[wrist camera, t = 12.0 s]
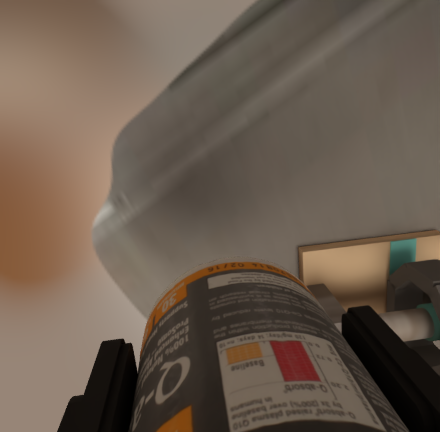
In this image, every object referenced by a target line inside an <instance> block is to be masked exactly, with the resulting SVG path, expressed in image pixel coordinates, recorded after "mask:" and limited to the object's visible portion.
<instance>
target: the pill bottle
mask: <svg viewBox="0 0 440 432" xmlns="http://www.w3.org/2000/svg"><path fill="white" fill-rule="evenodd" d="M128 432H409V430H408V429H407V427H406V426H405V424H404V423H403V422H402V420H401V419H400V417H399V416H398V414H397V413H396V412H395V410H394V409H393V407H392V406H391V404H390V403H389V401H388V400H387V398H386V397H385V396H384V394H383V393H382V391H381V390H380V388H379V387H378V385H377V384H376V383H375V381H374V380H373V378H372V377H371V375H370V374H369V373H368V371H367V370H366V368H365V367H364V366H363V364H362V363H361V361H360V360H359V358H358V357H357V355H356V354H355V353H354V351H353V350H352V348H351V347H350V346H349V344H348V343H347V342H346V340H345V339H344V337H343V336H342V334H341V333H340V331H339V330H338V329H337V327H336V326H335V325H334V323H333V322H332V320H331V319H330V317H329V316H328V314H327V313H326V311H325V310H324V308H323V307H322V306H321V305H320V303H319V302H318V300H317V299H316V298H315V296H314V295H313V294H312V293H311V292H310V290H309V289H308V288H307V287H306V286H305V285H304V283H303V282H302V281H301V280H300V279H298V278H297V277H296V276H295V275H293V274H292V273H291V272H289V271H288V270H286V269H284V268H283V267H281V266H279V265H277V264H275V263H272V262H269V261H265V260H260V259H256V258H249V257H231V258H223V259H219V260H215V261H212V262H209V263H206V264H200V265H198V266H196V267H194V268H193V269H191V270H189V271H187V272H186V273H184V274H183V275H182V276H180V277H179V278H178V279H176V280H175V281H174V282H173V283H172V284H171V285H170V286H169V287H168V288H167V289H166V290H165V291H164V292H163V293H162V294H161V296H160V297H159V298H158V300H157V301H156V303H155V305H154V306H153V309H152V311H151V313H150V315H149V318H148V321H147V324H146V328H145V333H144V337H143V342H142V348H141V352H140V362H139V368H138V376H137V381H136V388H135V395H134V400H133V406H132V413H131V420H130V426H129V431H128Z"/></svg>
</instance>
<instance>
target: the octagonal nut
mask: <svg viewBox="0 0 440 432" xmlns="http://www.w3.org/2000/svg"><path fill="white" fill-rule="evenodd" d="M388 278H389V280H387V308H386V312H394V311H401V310H408V309H416V307H417V306H418V305H420V304H423V291H424V292H425V293H426V294H428V295H429V297H430V299H431V302H432V304H433V307H434V309H435V311H436V314H437V316H438V319H439V321H440V260H438V259H432V260H424V261H417V262H409V263H404V264H403V265H402V266H400V267H399V268H398V269H397V270H396V271H395V272H394V273H392V274H391V275H390V276H389V277H388ZM404 343H405V344H406V345H407V346H408V347H409V348H411V349H413V350H415V351H416V352H417V353H418V354H419V355H420V356H421V357H422V358H423V359H424V360H425V361H426V362H427V363H428V364H429V365H430V366H431V368H432V369H433V370H434V371H435V372H436V373H437V374H438V375H439V376H440V350H439V349H438V348H437V347H436V346H435V345H434V343H433V341H428V340H426V339H418V340H411V341H404Z"/></svg>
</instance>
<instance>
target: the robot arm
mask: <svg viewBox="0 0 440 432" xmlns="http://www.w3.org/2000/svg"><path fill="white" fill-rule="evenodd" d="M341 330H342V336H343V337H344V339H345V340H346V342H347V343H348V344H349V346H350V347H351V348H352V350H353V351H354V353H355V354H356V355H357V357H358V358H359V360H360V361H361V363H362V364H363V366H364V367H365V368H366V370H367V371H368V373H369V374H370V375H371V377H372V378H373V380H374V381H375V383H376V384H377V385H378V387H379V388H380V390H381V391H382V393H383V394H384V396H385V397H386V398H387V400H388V401H389V403H390V404H391V406H392V407H393V409H394V410H395V412H396V413H397V414H398V416H399V417H400V419H401V420H402V422H403V423H404V424H405V426H406V427H407V429H408V430H409V432H440V376H439V375H438V374H437V373H436V372H435V371H434V370H433V369H432V368H431V366H430V365H429V364H428V363H427V362H426V361H425V360H424V359H423V358H422V357H421V356H420V355H419V354H418V353H417V352H416V351H415V350H413V349H411V348H409V347H408V346H407V345H406V344H405V343H404V342H403V340H402V339H401V338H400V337H399V336H398V335H397V334H396V333H395V332H394V331H393V330H392V329H391V328H390V327H389V326H388V324H387V323H386V322H385V321H384V320H383V319H382V318H381V317H380V316H379V315H378V314H377V313H376V312H375V311H374V310H373V308H372V307H370V306H369V305H365V306H358V307H350V308H348V310H347V313H345V314H342V318H341ZM137 376H138V372H137V367H136V362H135V356H134V351H133V346H132V344H131V343H126V344H125V341H124V339H116V340H108V341H103V342H102V343H101V346H100V349H99V352H98V354H97V358H96V361H95V363H94V366H93V369H92V372H91V375H90V378H89V381H88V384H87V386H86V389H85V393H84V395H79V396H73V397H72V398H71V399H70V401H69V403H68V405H67V408H66V410H65V413H64V416H63V418H62V421H61V423H60V426H59V428H58V431H57V432H128V431H129V426H130V420H131V413H132V406H133V400H134V395H135V388H136V381H137Z"/></svg>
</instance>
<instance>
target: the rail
mask: <svg viewBox="0 0 440 432" xmlns="http://www.w3.org/2000/svg"><path fill="white" fill-rule="evenodd" d="M298 250H299V276H300V280H301V281H302V282H303V283H304V285H305V286H306V287H307V288H308V289H309V290H310V292H311V293H312V294H313V295H314V296H315V298H316V299H317V300H318V302H319V303H320V305H321V306H322V307H323V308H324V310H325V311H326V313H327V314H328V316H329V317H330V319H331V320H332V322H333V323H334V325H335V326H336V327H337V329H338V330H339V331H340V333H341V334H342V330H341V318H342V314H345V313H347V310H348V308H350V307H358V306H365V305H369V306H370V307H372V308H373V310H374V311H375V312H376V313H377V314H378V315H379V316H380V317H381V318H382V319H383V320H384V321H385V322H386V323H387V324H388V326H389V327H390V328H391V329H392V330H393V331H394V332H395V333H396V334H397V335H398V336H399V337H400V338H401V339H402V340H403V342H404V341H411V340H418V339H426V340H428V341H436V340H440V321H439V319H438V316H437V314H436V311H435V309H434V307H433V304H432V302H431V299H430V297H429V295H428V294H426V293H425V292H424V291H423V304H420V305H418V306H417V307H416V309H408V310H401V311H394V312H386V308H387V280H389V278H388V277H389V276H390V275H391V274H392V273H394V272H395V271H396V270H397V269H398V268H399V267H400V266H402V265H403V264H404V263H409V262H417V261H424V260H432V259H438V260H440V232H439V231H437V230H431V231H423V232H415V233H407V234H399V235H391V236H383V237H375V238H367V239H359V240H351V241H343V242H335V243H327V244H319V245H311V246H303V247H298Z"/></svg>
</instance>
